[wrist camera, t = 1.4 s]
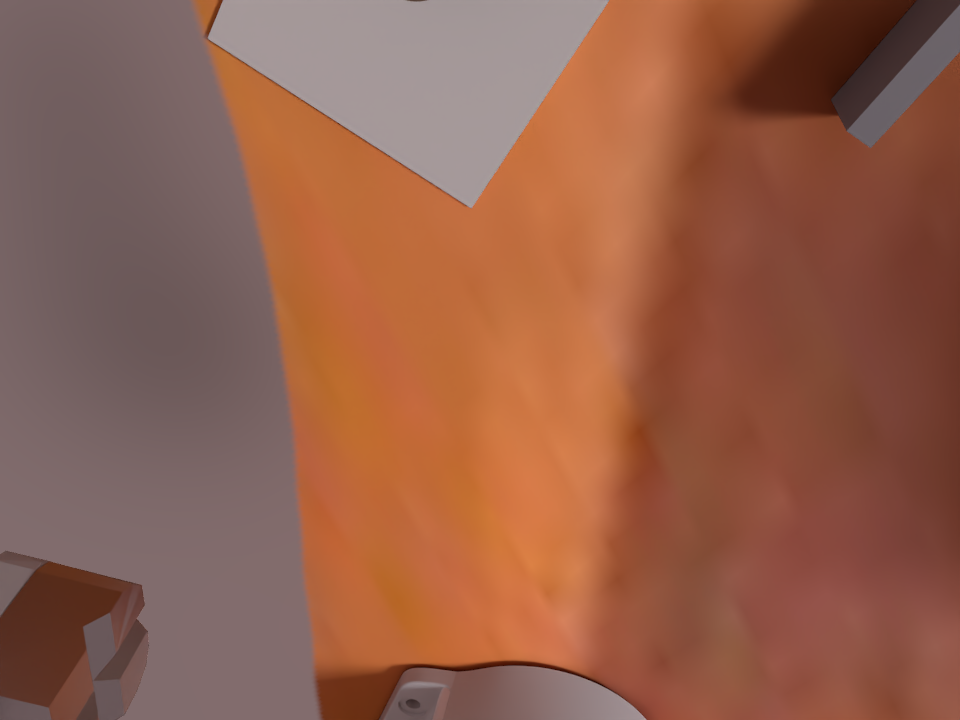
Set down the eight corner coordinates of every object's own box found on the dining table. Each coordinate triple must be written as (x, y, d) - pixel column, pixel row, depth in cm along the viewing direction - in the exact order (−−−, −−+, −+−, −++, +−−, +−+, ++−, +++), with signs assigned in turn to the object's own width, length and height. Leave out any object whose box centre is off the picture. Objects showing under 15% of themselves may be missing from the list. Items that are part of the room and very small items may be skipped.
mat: (472, 206, 37) (471, 208, 37) (209, 37, 35) (207, 38, 35) (618, -14, 32) (617, -13, 32) (317, -227, 30) (315, -227, 30)
